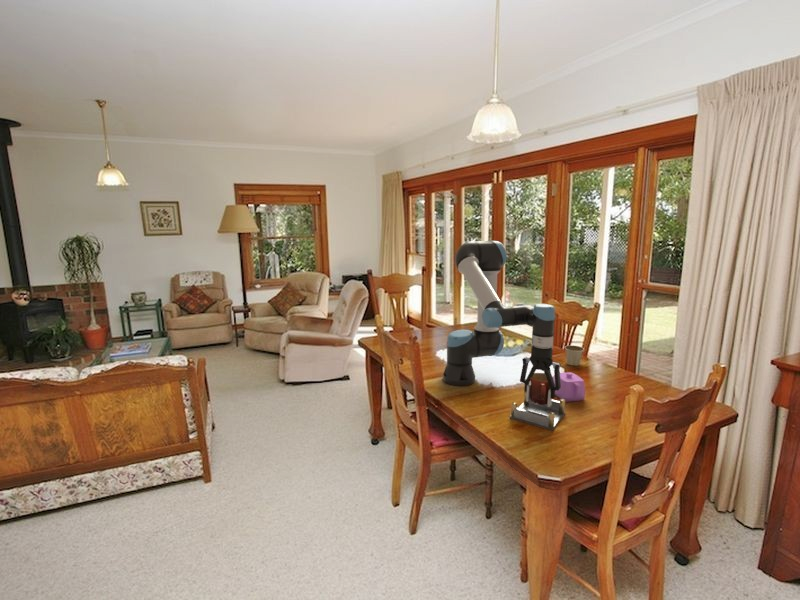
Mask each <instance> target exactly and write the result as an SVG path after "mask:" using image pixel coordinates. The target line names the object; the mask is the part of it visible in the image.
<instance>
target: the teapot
mask: <svg viewBox="0 0 800 600" xmlns="http://www.w3.org/2000/svg"><path fill="white" fill-rule="evenodd" d="M553 375H554V374H553ZM553 381H554V384H555V375H554V376H553ZM560 383H561V388H560V389H559V390H558V391H557V390H555V397H558V398H559V400H560V399H565V402H578V401H579V402H580V401H584V400H585V397H586V387H585V385H586V384H585V381H584V379H583V378H581V377H580V376H579V375H577V374H575V373H574V372H570V371H569V372H560Z"/></svg>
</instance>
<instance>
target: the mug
mask: <svg viewBox="0 0 800 600" xmlns="http://www.w3.org/2000/svg"><path fill="white" fill-rule="evenodd" d="M552 378H554V376H552ZM530 383H531V391H530V397H531V401H532V402H533V403H535V404H537V405H546V404H548V390H549V389H550V386H549V383H548V380H547V377H546V374H545V373H544V372H535V373H534V375H533V376H532V378H531V377H530Z"/></svg>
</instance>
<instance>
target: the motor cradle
mask: <svg viewBox="0 0 800 600" xmlns="http://www.w3.org/2000/svg"><path fill="white" fill-rule="evenodd" d="M523 392H524V394H523V402H522V403H520V405H519V406H518V403H517V402H516V401H512V402H511V407H510V408H511V410H510V415H509V419H511V420H514V421H518V422H522V423H525V424H527V425H532V426H535V427H538V428H542V429H545V430H549V431H554V430H555V429H556V427H557V426H558V424H559V423H560V421H561V420H562V418H563V417H564V416H565V414H566V401H565V399H560V398H559V400H555V399H552V405H551V406H550V407H547V405H548V404H546V405H537V404H535V403H533V402H532V401H531V399H530V400H529V401H528V402H527V401H526V396H527V392H525V391H524V390H523Z"/></svg>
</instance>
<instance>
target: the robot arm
mask: <svg viewBox="0 0 800 600" xmlns="http://www.w3.org/2000/svg"><path fill="white" fill-rule="evenodd" d="M507 257H508V256H507V250H506V248H505V246H504V244H503V243H502V242H500V241H498V240H478V241H472V240H471V241H467V242H464V243H462V244H461V245H460V246H459V247H458V248H457V250H456V252H455V256H454V264H455V266H456V269H457V271H458V272H459V274H462V275H463V277H464V278H465V280H466V282H467V284H468V286H469V287H470V289H471V290H472V292H473V294H474V295H475V296H474V297H475V298H476V299H477V315H476V316H477V318H476V320H477V323H476V325H475V326H474V327H473V331H472V330H470V329H456V330H453V331H451V332H450V333H449V334H448V335H447V340H446V366H445V367H444V371H443V374H442V381H443V382H444V383H446V384H449V385H451V386H456V387H457V386H459V387H466V386H470V385H472V384H474V383H475V382H476V374H475V371H474V367H473V358H481V357H492V356H496V355H499V354H500V353H501V352H502V351H503V349H504V345H505V338H504V334H503V332H502V331H501V330H500V328H504V327H505V328H506V327H511V326H512V327H513V326H515V327H516V326H522V325H523V326H528V327H531V328H532V331H531V332H532V333H531V351H530V357H528V356H524V357H523V358H522V367H521V373H520V379H519V382H520V383H522V384H523V385H524V390H523V392H524V391H525V392H527V396H526V401H527V402H528V401H529V400H530V399H531V397H530V391H531V381H530V377H531V378H532V376H533V375H534V373H536V371H537V370H540V371H542V372H543V373H545V374H546V377H547V380H548V383H549V386H550V389H549V390H548V405H547V407H550V406H551V405H552V400H554V399H555V397H556V395H555V390H557V391H558V390H559V389H560V388H561V383H560V373H561V371H560V368H561V363H560V362H554V360H553V353H554V352H553V351H554V350H553V349H554V348H553V346H554V336H555V335H554V333H555V322H556V308H555V306H554V305H552V304H549V303H548V304H547V303H536V304H535V305H530V304H529V303H522V302H520V303H517V304H516V305H513V306H504V304H503V303H502V301H501V299H500V298H499V296H498V293H497V292H498V274H499V273H500V272H501V270H502V267H504V265H506V262H507V259H508V258H507ZM529 363H531V365H532V367H531V369H530V371H529V373H528V374H527V371H528V366H529ZM551 366H552V367H553V371H554V374H553V375H555V384H554V381H553V378H554V377H553V375H552V372H551V368H550V367H551ZM552 377H553V378H552Z"/></svg>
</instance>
